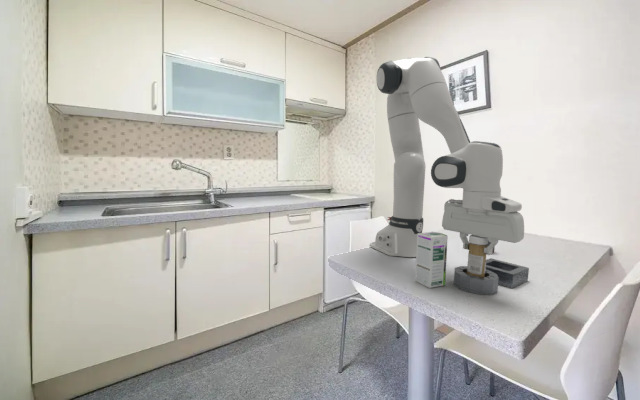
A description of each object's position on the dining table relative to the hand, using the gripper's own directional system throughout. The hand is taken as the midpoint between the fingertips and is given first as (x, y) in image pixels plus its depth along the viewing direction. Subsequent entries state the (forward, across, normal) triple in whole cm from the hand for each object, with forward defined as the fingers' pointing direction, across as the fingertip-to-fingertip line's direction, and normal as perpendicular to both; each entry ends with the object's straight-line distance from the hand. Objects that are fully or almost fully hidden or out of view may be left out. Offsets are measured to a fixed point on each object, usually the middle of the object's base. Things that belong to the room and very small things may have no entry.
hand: (477, 251), depth 76 cm
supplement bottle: (+10, -16, +40) cm, 44 cm away
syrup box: (+10, -8, -9) cm, 16 cm away
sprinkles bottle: (+9, 0, 0) cm, 9 cm away
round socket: (+10, 0, 0) cm, 10 cm away
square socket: (+10, +1, +13) cm, 17 cm away
